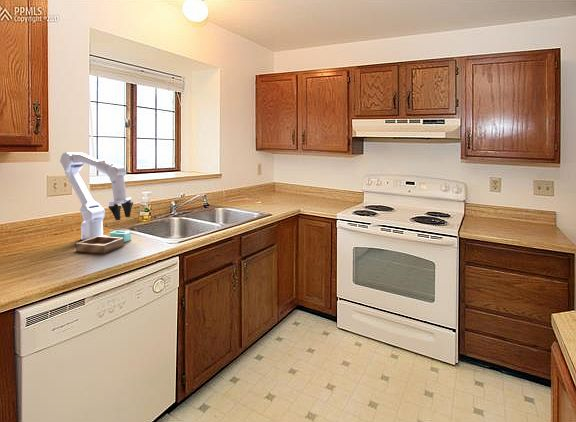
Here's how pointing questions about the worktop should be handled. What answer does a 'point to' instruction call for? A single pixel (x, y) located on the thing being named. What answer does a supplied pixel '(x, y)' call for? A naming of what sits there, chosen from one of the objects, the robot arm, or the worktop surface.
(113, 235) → the teal crate
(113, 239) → the tray
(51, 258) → the worktop surface
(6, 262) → the worktop surface
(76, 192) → the robot arm
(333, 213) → the worktop surface
